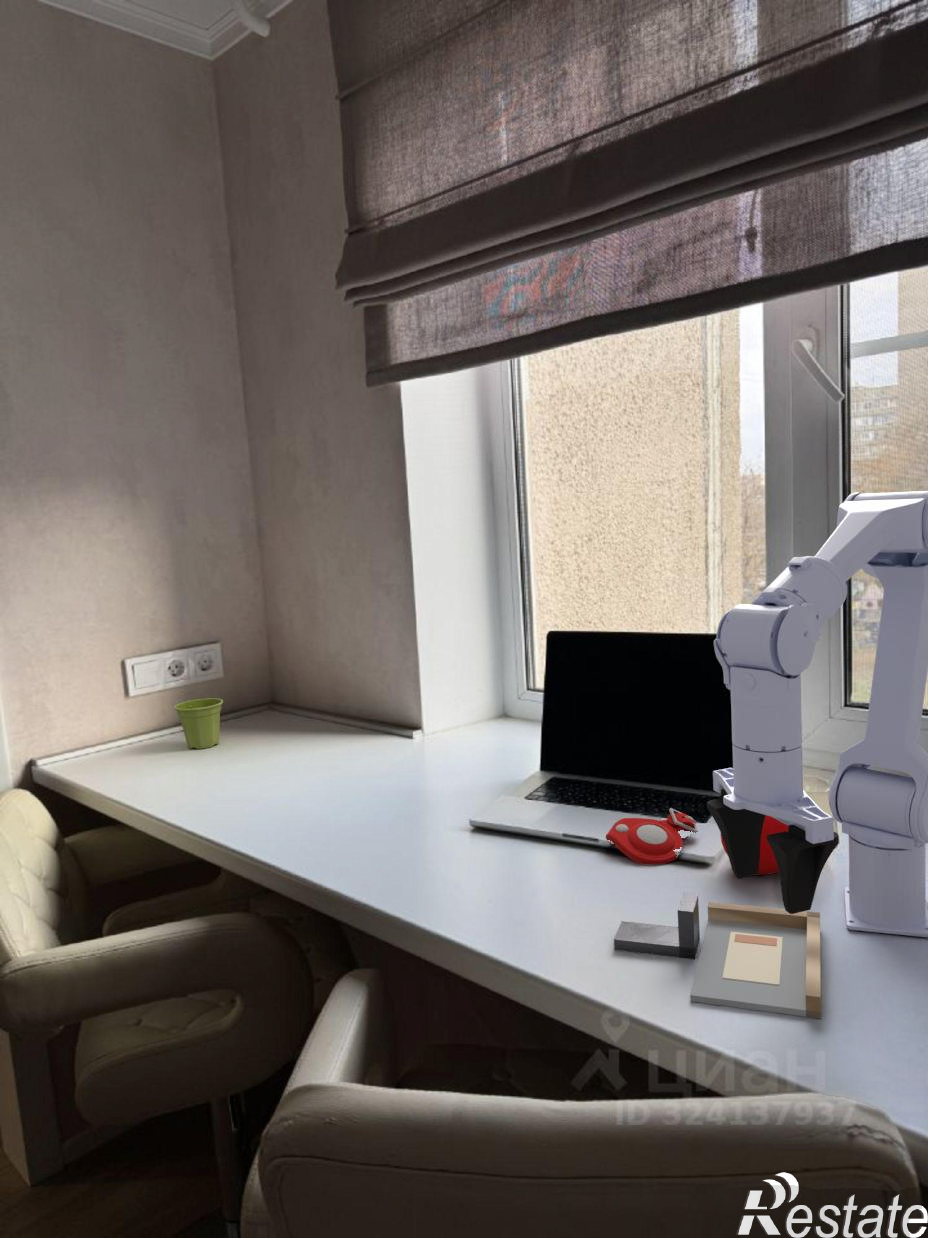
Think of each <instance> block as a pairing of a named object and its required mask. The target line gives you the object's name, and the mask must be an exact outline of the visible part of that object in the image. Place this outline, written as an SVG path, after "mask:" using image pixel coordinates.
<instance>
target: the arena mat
mask: <svg viewBox="0 0 928 1238" xmlns="http://www.w3.org/2000/svg"><path fill="white" fill-rule="evenodd" d="M806 953H807V930H806V929H796V928H786V927H776V926H766V925H757V924H747V923H737V922H727V921H717V920H708V919H707V923H706V927H705V931H704V935H703V939H702V945H701V949H700V953H699V956H698V961H697V966H696V969H695V973H694V978H693V982H692V985H691V986H692V987H691V991H690V995H689V997H690V1002H695V1003H701V1004H709V1005H716V1006H724V1007H730V1008H737V1009H738V1008H739V1009H747V1010H753V1011H754V1010H755V1011H761V1012H768V1013H774V1014H775V1013H778V1014H783V1015H789V1016H796V1017H797V1016H798V1017H805V1018H806V1017H807V1018H812V1017H813V1016H812V1014H811V1013H810V1016H809V1013H807V1012H809V1011H806ZM811 1012H812V1011H811ZM813 1012H814V1011H813ZM806 1013H807V1014H808V1015H806ZM817 1013H818V1012H817ZM820 1013H821V1014H822V1011H821V1012H820ZM820 1013H819V1014H820ZM813 1015H814V1014H813ZM817 1015H818V1014H817ZM817 1015H816V1018H814V1017H815V1016H814V1017H813V1019H822V1015H821V1016H820V1015H818V1016H819V1017H820V1018H818V1017H817ZM811 1016H812V1017H811Z"/></svg>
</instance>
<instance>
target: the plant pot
mask: <svg viewBox="0 0 928 1238" xmlns="http://www.w3.org/2000/svg"><path fill="white" fill-rule="evenodd" d="M223 703H224V700H223V699H221V698H218V697H217V698H215V697H214V698H213V697H212V698H210V697H208V698H199V699H198V698H197V699H192V700H187V701H183V702H180V703H177V704H175V705H174V706H173V709H174V710H176V712H177V716H178V717H179V720H180V722H181V727H182V730H183V733H184V737H185V741H186V744H187V748H188V749H196V750H202V749H207V748H211V747H214V745H219V743H220V724H221V723H220V722H221V716H220V715H221V711H222V704H223Z"/></svg>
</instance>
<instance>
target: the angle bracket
mask: <svg viewBox="0 0 928 1238" xmlns="http://www.w3.org/2000/svg"><path fill="white" fill-rule="evenodd" d="M699 907H700V905H699V894H698V893H692V892H691V893H690V892H683V893H682V895H681V899H680V901H679V905H678V908H677V925H678V926H670V925H663V924H662V925H661V924H653V923H642V922H634V921H633V922H632V921H624V920H623V921H622V920H621V921H620V924H619V927H618V929H617V930H616V934H615V936H614V938H613V950H614V951H618V952H619V951H620V952H627V953H628V952H629V953H636V954H644V955H652V956H653V955H654V956H663V957H670V958H678V959H688V960H696V957H697V952H698V949H699V946H700V945H699V944H700V941H701V940H700V939H701V937H700V936H701V935H700V934H701V933H700V931H701V930H700V912H699V911H700V910H699Z"/></svg>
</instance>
